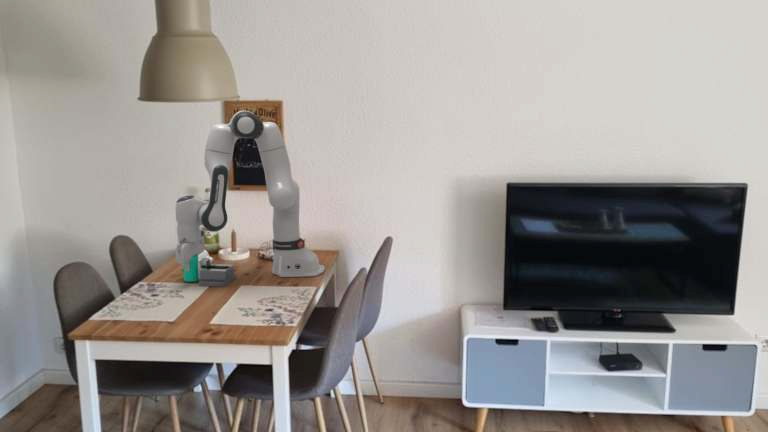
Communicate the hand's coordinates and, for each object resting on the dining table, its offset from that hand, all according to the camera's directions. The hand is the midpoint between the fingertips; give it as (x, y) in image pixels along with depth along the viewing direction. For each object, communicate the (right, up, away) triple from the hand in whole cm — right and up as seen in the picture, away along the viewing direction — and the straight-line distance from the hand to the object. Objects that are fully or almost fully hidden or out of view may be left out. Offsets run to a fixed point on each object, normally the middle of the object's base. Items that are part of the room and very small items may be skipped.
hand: (191, 268), depth 307 cm
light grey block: (+9, -3, -1) cm, 9 cm away
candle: (-1, -5, +1) cm, 5 cm away
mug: (-1, -2, +19) cm, 19 cm away
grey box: (+10, -5, -1) cm, 12 cm away
